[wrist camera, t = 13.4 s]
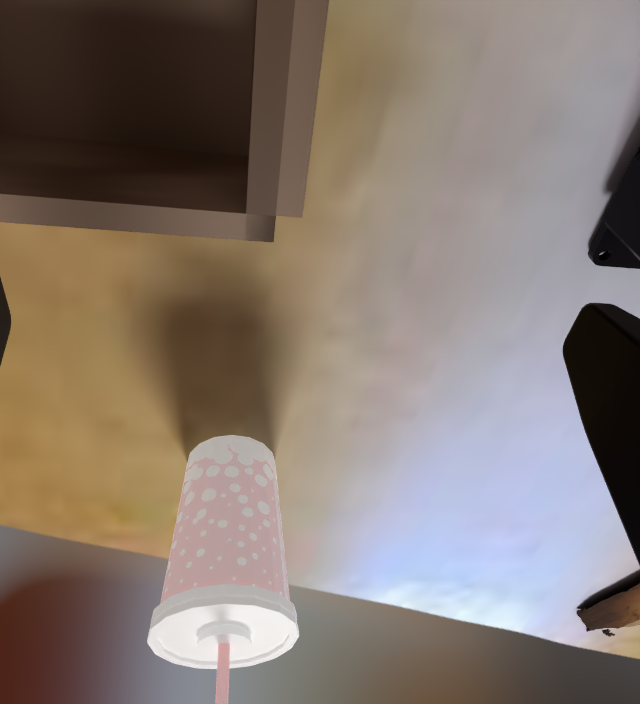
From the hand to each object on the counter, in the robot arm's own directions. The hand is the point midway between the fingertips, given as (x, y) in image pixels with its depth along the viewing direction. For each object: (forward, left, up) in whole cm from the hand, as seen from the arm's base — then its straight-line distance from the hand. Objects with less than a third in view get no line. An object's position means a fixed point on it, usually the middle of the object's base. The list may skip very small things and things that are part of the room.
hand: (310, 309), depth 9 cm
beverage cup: (+1, +19, -12) cm, 23 cm away
